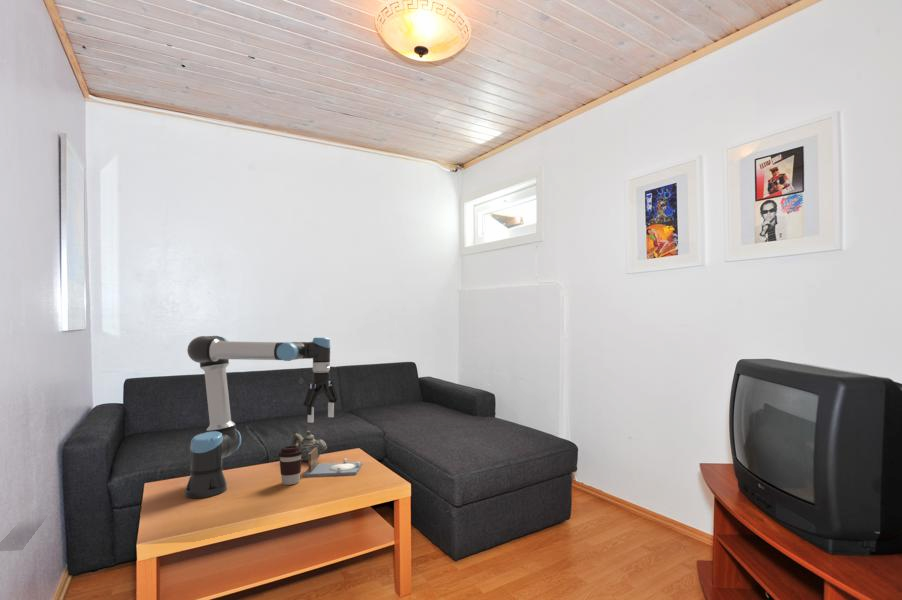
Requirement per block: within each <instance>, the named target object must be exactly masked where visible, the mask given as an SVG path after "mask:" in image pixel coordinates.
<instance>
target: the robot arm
mask: <svg viewBox="0 0 902 600" xmlns="http://www.w3.org/2000/svg"><path fill="white" fill-rule="evenodd" d="M186 350H187V355H188V357H189V358H190V360H192V361H193V362H195V363H199V369H200V370H202V371H203V372H204V380H205V390H206V398H207V408H208V416H209V417H208V419H209V426H208V427H207V428H206V432H203V433H199V434H197V435H195V436H193V438H192V439H191V440H190V448H189V449H190V476H189V479H188V481H187V485H186V488H185V491H184V492H185V493H184V494H185V495H184V497H186V498H188V499H202V498H208V497H209V498H210V497H214V496H216V495H220V494H223V493H224V492H225V491H227V488H228V487H227V486H228V485H227V484H228V483H227V480H226V478H225V474H224V472H223V459H225V458H226V457H230V456H232V455H233V454H234V453H235V452H236V451H238V450H239V449H240V448H239V447H240V446H241V443H242V436H241V433H240V431H239V430H237V427H236V426H237V425H236V423H235V422H234V421H232V414H231V405H230V397H229V396H230V395H229V389H228V388H229V387H228V378H227V369H226V368H227V367H228V366H229V364H230V363H229V360H242V361H243V360H248V361H249V360H251V361H252V360H253V361H254V360H255V361H259V360H261V361H262V360H263V361H283V362H290V361H294V360H302V359H303V360H305V359H306V360H307V359H312V372H313V373H312V381H313V382H314V383H309V384H308V389H307V392H306V396H305V398H304V401H303V407H305V408H306V415H307V423H312V424H313V423H314V422H315V421H314V419H315V414H314V413H315V407H314V404H315V403H316V401H317V399H318V396H319V395H320V394H322V393H324V395H325V397H326V399H327V400H328V402H327V403H328V404H327V418H334V417H335V404H336V403H337V401H338V396H337V393H336V389H335V386H334V380H333V381H332V380H331V373H330V372H329V371H330V370H331V342H330V337H313V338H312V341H291V342H290V341H289V342H288V341H287V342H286V341H285V342H282V341H281V342H273V341H266V342H265V341H229V340H228V339H226V337H223V336H218V335H207V336H206V335H201V336H197V337H194V338H193V339H192V340H191V341H190V342H189V343H188V346H187V349H186Z"/></svg>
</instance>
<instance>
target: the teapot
mask: <svg viewBox="0 0 902 600" xmlns="http://www.w3.org/2000/svg"><path fill="white" fill-rule="evenodd" d="M291 446H299V448H300V449H302V450H303V453H302V454H301V461H304V462H307V461H308V454H309V453H310V452H311V451H312V450H313V449H314V448H316V447H318V458H319V457H320V455H321V453H323V452H325V451H326V450H327V449H328V447H327V443H326V442H325V440H323V439H315V436H314V434H311V430H307V431H306V434H305V435H304V436H302V435H301V434H300V433H294V434H293V437H292V441H291Z"/></svg>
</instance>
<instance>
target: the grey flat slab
mask: <svg viewBox="0 0 902 600" xmlns="http://www.w3.org/2000/svg"><path fill="white" fill-rule="evenodd" d="M362 466H363V461H350V462H348V458H343V462H328V463H327V462H326V463H323V462H321V463H318V465H317V466H316V467H315V468H314V469H313V470H312V471H311V472H308V468H307V469H306V470H305V471H304V472H303V473H302V478H309V477H310V478H311V477H315V478H316V477H335V476H355V475H357V474H358V472H359V471H360V470H361V468H362Z"/></svg>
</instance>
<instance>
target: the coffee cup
mask: <svg viewBox="0 0 902 600" xmlns="http://www.w3.org/2000/svg"><path fill="white" fill-rule="evenodd" d="M302 453H303V450H302V449H300V448H299V446H292V445H287V446H283V447H282V449H281V450H279V452H278V457H279V459H280V460H279V470H280V475H281V478H280V479H281V485H284V486H291V485H296V484H298V483H300V480H301V479H300V478H301V470H302V459H301V454H302Z"/></svg>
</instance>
